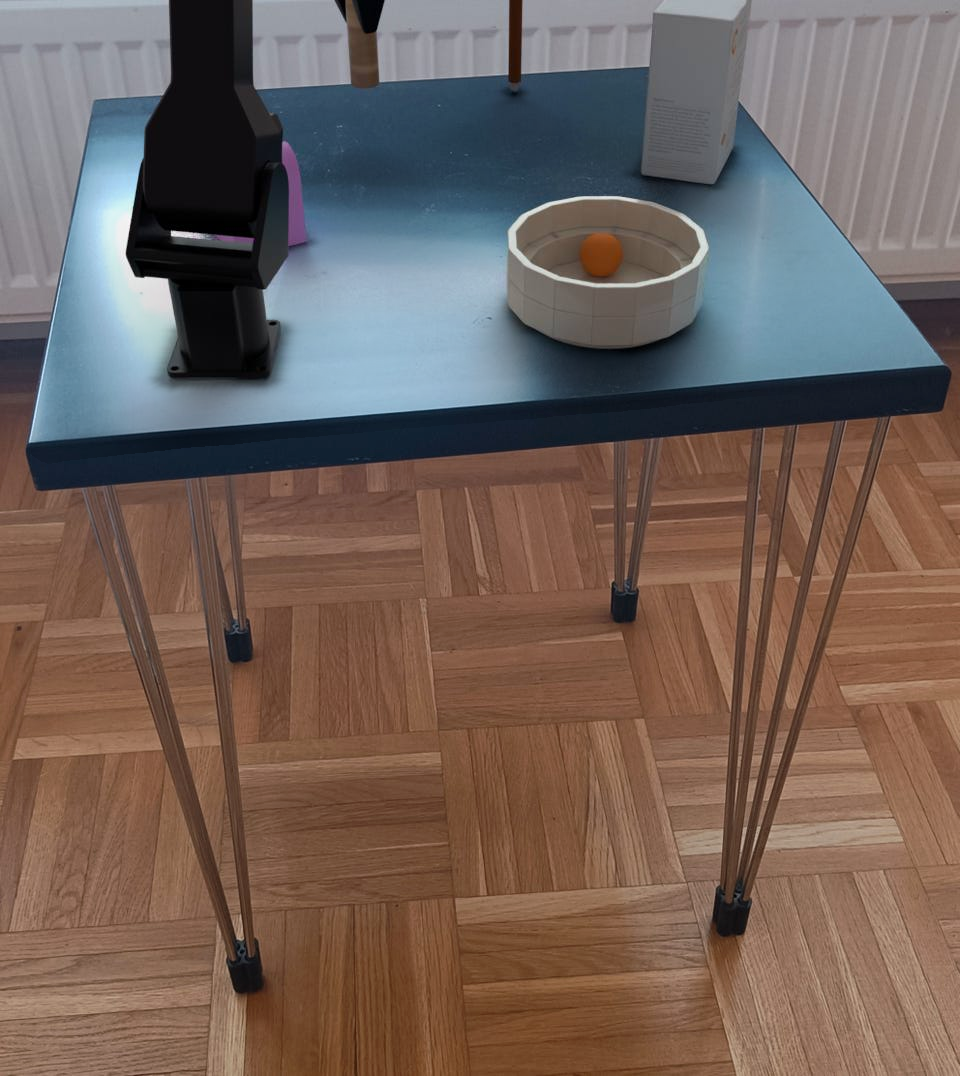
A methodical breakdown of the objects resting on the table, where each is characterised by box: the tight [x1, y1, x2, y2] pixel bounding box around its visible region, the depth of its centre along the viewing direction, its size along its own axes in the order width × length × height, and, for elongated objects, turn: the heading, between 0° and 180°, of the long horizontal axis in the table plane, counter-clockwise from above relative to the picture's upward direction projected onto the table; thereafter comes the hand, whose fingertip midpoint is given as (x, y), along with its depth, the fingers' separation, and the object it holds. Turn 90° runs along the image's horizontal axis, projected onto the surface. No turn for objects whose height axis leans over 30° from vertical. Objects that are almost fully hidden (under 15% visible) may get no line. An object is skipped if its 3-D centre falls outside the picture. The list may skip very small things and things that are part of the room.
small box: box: [640, 0, 753, 185], centre depth 100 cm, size 8×6×13 cm
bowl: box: [506, 195, 710, 350], centre depth 84 cm, size 13×13×5 cm
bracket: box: [214, 140, 308, 247], centre depth 94 cm, size 13×6×7 cm, turn 30°
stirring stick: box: [345, 0, 380, 89], centre depth 102 cm, size 2×2×10 cm
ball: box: [580, 233, 623, 277], centre depth 87 cm, size 3×3×3 cm
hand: (361, 28), depth 102 cm, fingers closed on stirring stick, 2 cm apart
